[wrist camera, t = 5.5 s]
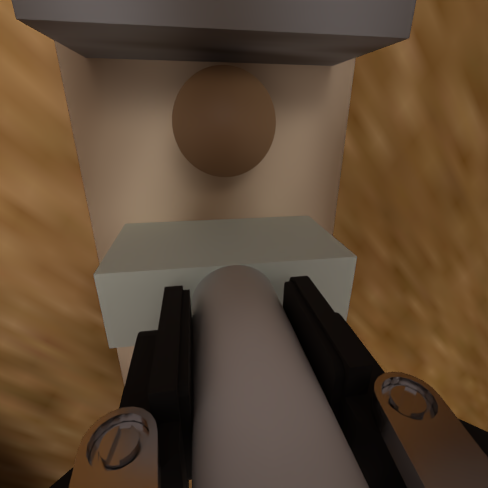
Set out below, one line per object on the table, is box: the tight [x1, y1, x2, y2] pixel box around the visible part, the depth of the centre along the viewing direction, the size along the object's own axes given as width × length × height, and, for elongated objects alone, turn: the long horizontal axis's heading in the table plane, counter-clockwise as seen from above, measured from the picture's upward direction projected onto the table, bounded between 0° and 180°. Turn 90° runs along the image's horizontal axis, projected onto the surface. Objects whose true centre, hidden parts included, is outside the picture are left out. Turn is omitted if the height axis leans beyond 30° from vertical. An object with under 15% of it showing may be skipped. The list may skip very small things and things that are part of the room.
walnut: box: [172, 65, 276, 177], centre depth 12 cm, size 4×4×3 cm
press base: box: [12, 0, 416, 387], centre depth 15 cm, size 12×26×7 cm, turn 0°
